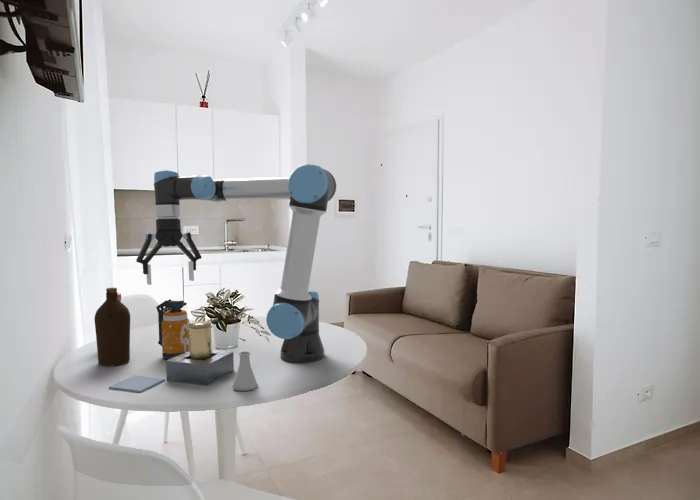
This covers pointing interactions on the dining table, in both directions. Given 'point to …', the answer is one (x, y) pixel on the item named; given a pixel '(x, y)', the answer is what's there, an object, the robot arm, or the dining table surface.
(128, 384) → the mat
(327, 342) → the dining table surface
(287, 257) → the robot arm
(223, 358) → the box
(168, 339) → the canister
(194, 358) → the gold metal cylinder
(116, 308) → the olive oil
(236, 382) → the flask
